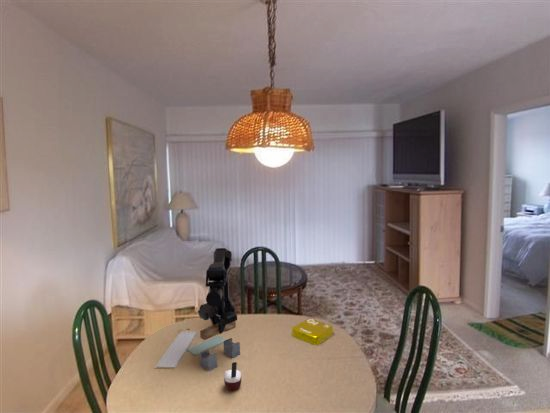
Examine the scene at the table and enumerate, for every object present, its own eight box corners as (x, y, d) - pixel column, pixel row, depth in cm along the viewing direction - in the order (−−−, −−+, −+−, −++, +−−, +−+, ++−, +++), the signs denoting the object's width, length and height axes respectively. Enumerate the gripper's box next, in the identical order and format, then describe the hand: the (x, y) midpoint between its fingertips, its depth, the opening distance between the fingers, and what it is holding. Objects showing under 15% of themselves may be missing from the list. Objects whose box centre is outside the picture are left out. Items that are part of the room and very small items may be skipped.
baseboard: (150, 370, 136) (175, 370, 135) (150, 363, 135) (174, 364, 135) (177, 334, 166) (197, 334, 165) (176, 328, 165) (196, 329, 165)
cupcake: (227, 380, 127) (225, 349, 127) (244, 380, 127) (242, 349, 126) (221, 396, 118) (219, 363, 117) (239, 396, 117) (237, 362, 117)
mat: (218, 336, 161) (218, 335, 161) (227, 341, 156) (227, 340, 156) (186, 350, 149) (186, 349, 149) (195, 356, 144) (195, 354, 144)
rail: (231, 324, 148) (231, 317, 148) (235, 326, 146) (235, 319, 146) (200, 337, 137) (200, 330, 136) (204, 340, 135) (204, 333, 134)
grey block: (231, 350, 149) (230, 337, 148) (240, 354, 145) (239, 342, 144) (224, 353, 146) (223, 341, 145) (232, 358, 142) (232, 346, 141)
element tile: (290, 336, 161) (290, 327, 160) (308, 325, 172) (308, 316, 171) (316, 346, 151) (316, 336, 150) (334, 334, 162) (334, 324, 161)
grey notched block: (208, 361, 140) (208, 348, 140) (217, 366, 136) (216, 353, 135) (200, 365, 137) (199, 352, 137) (208, 371, 133) (208, 357, 133)
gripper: (187, 296, 140) (189, 332, 142) (214, 308, 127) (216, 347, 129) (210, 289, 148) (211, 322, 150) (237, 299, 135) (238, 336, 137)
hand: (218, 332), depth 141 cm, fingers closed on rail, 3 cm apart
